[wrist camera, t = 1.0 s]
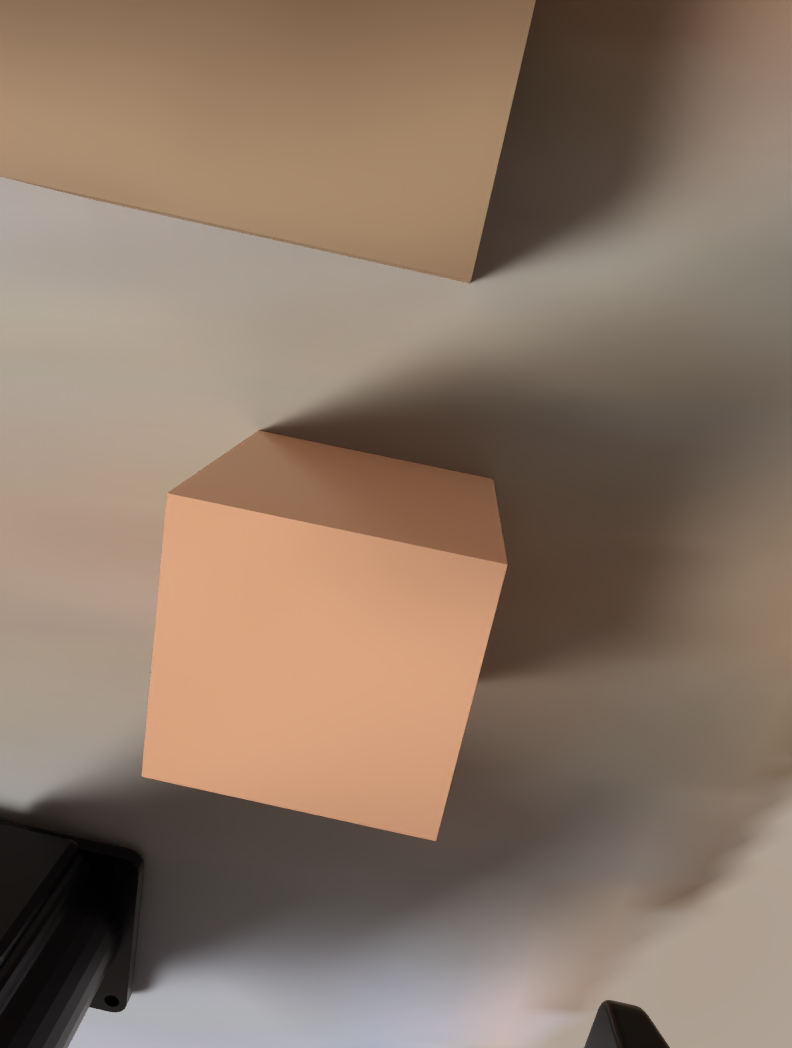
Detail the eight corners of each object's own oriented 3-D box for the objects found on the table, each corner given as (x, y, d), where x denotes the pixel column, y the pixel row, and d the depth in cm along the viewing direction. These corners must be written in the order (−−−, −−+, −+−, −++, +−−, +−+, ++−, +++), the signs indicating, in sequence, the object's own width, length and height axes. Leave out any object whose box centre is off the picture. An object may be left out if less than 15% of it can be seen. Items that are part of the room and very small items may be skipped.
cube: (443, 684, 20) (435, 841, 14) (232, 638, 20) (141, 776, 14) (493, 478, 18) (507, 564, 12) (259, 429, 18) (167, 492, 12)
